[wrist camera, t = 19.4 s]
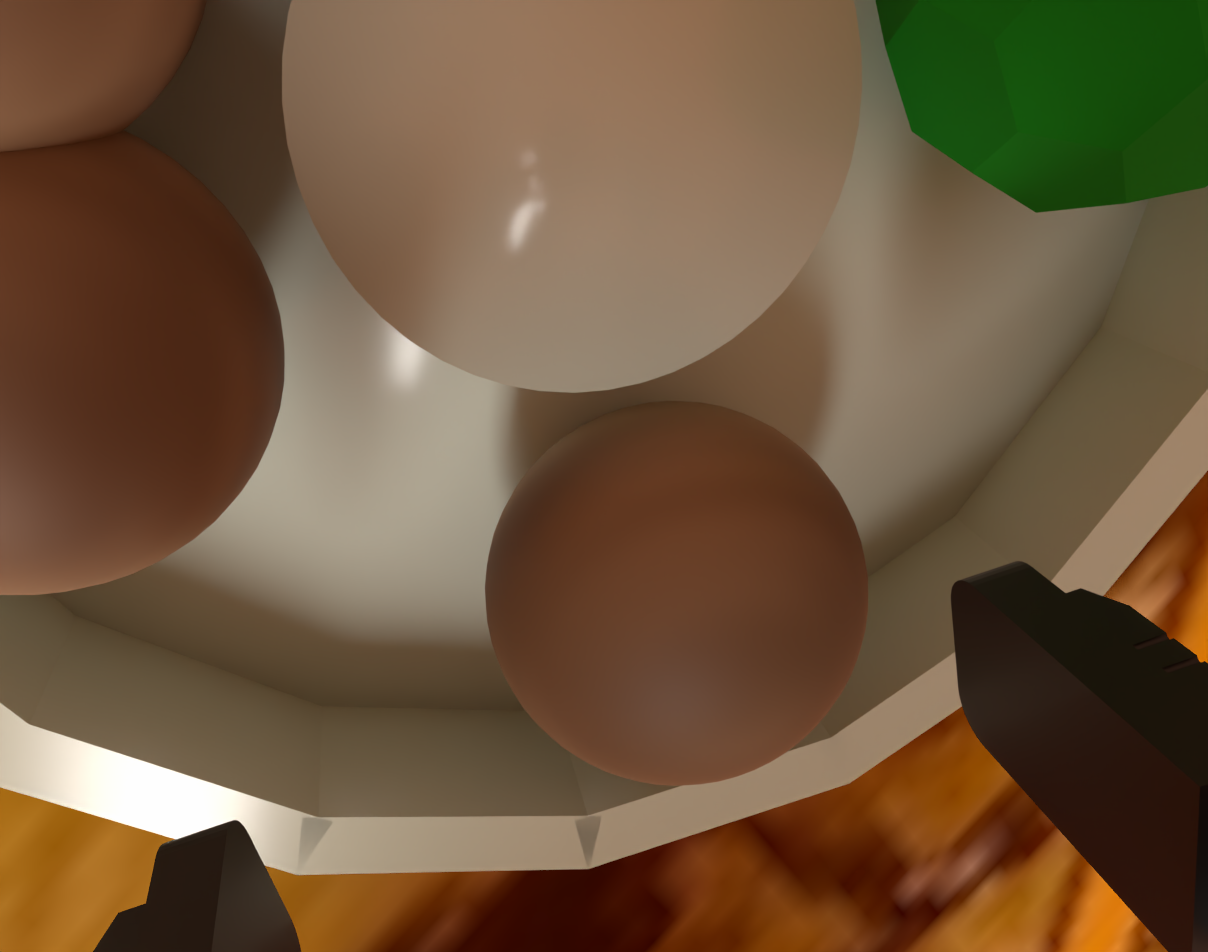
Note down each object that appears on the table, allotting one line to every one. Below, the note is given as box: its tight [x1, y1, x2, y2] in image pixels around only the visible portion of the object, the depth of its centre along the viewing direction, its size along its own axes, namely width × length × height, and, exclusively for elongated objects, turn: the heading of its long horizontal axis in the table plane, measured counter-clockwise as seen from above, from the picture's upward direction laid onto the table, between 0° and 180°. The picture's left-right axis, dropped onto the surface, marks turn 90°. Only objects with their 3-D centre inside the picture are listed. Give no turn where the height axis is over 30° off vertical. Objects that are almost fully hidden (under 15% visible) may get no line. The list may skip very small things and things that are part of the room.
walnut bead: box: [485, 401, 868, 786], centre depth 14 cm, size 5×5×5 cm
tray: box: [0, 0, 1208, 875], centre depth 12 cm, size 21×21×4 cm
